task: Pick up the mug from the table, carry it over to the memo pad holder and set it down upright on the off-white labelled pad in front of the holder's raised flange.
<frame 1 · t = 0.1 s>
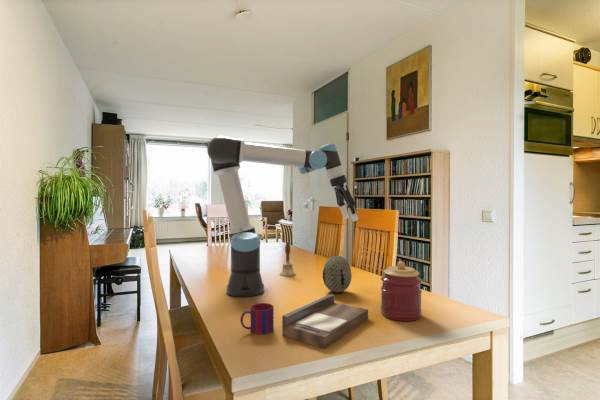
hand: (350, 219, 158), 28 cm above the table, tool tilted 20°, fingers open, 13 cm apart
mug: (256, 331, 98), on the table
canister: (400, 315, 112), on the table
hand bell: (287, 274, 168), on the table
memo pad holder: (327, 326, 101), on the table
decorative egg: (336, 292, 137), on the table
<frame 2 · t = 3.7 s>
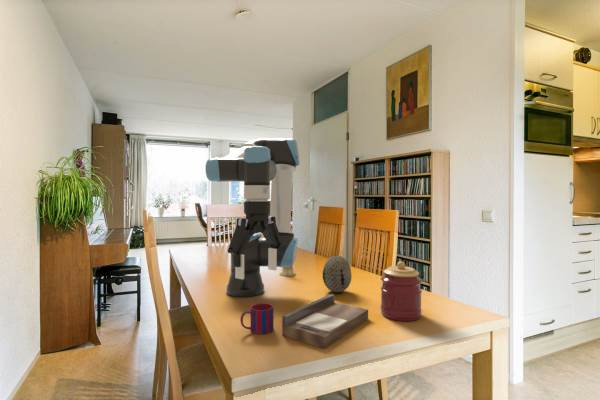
hand: (256, 274, 98), 17 cm above the table, tool pointing down, fingers open, 13 cm apart
nothing on the table moved.
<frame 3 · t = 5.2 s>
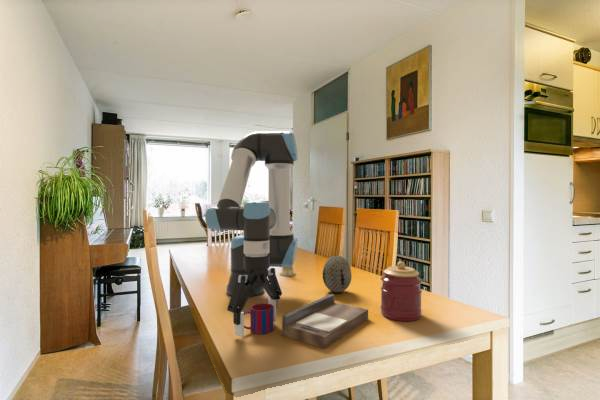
hand: (256, 327, 98), 1 cm above the table, tool pointing down, fingers open, 13 cm apart
nothing on the table moved.
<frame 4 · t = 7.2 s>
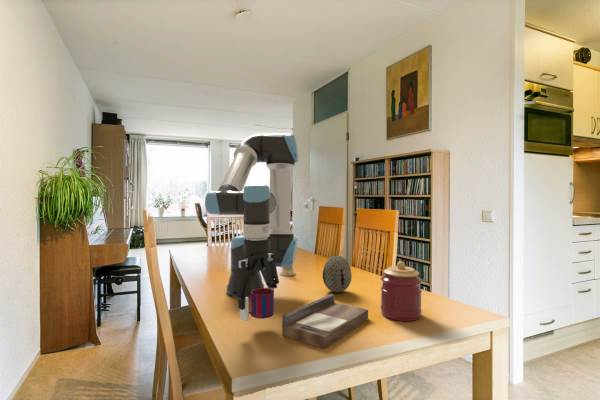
hand: (257, 314, 99), 5 cm above the table, tool pointing down, fingers closed on mug, 10 cm apart
mug: (257, 316, 99), point 4 cm above the table, touching gripper
everything else where it was.
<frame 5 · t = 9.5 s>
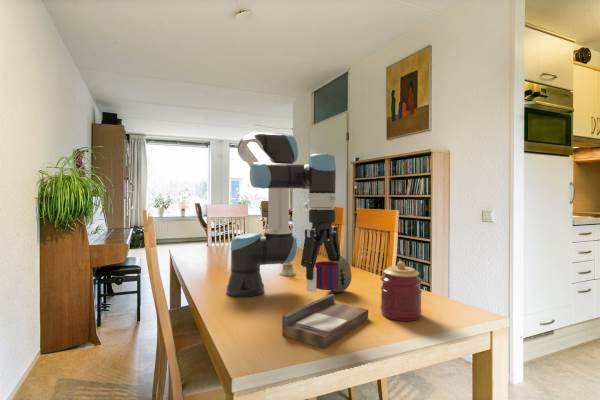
hand: (321, 286, 96), 13 cm above the table, tool pointing down, fingers closed on mug, 10 cm apart
mug: (321, 288, 97), point 13 cm above the table, touching gripper
everything else where it was.
when the fingers open (4 cm above the table, at t = 11.9 s): mug stays where it is, resting on memo pad holder.
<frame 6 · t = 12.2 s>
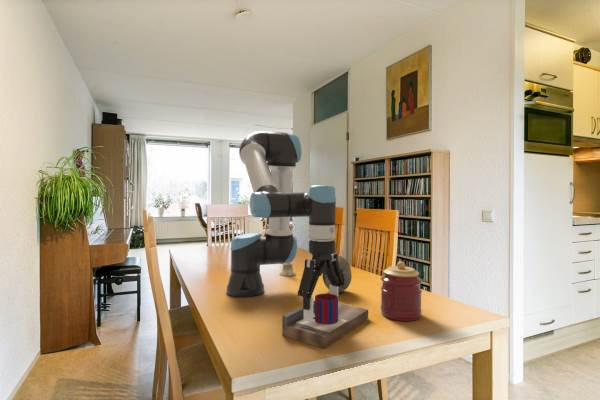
hand: (321, 313, 97), 5 cm above the table, tool pointing down, fingers open, 13 cm apart
mug: (321, 321, 97), point 3 cm above the table, touching memo pad holder
everything else where it was.
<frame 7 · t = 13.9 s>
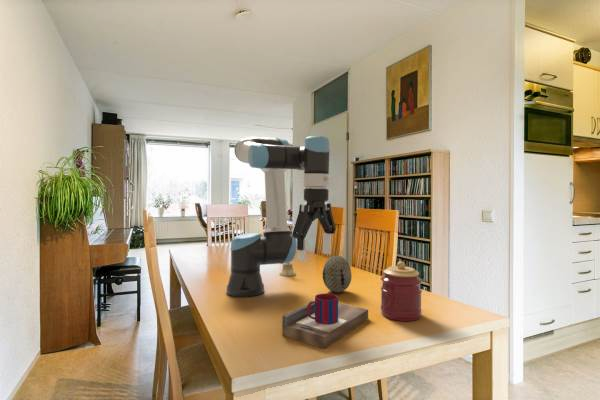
hand: (315, 257, 104), 20 cm above the table, tool pointing down, fingers open, 13 cm apart
nothing on the table moved.
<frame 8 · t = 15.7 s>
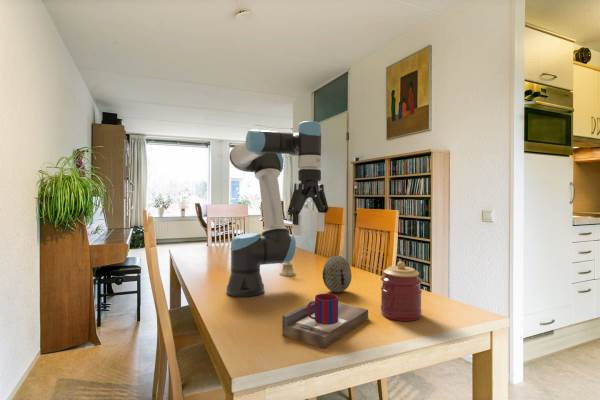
hand: (309, 233, 112), 27 cm above the table, tool pointing down, fingers open, 13 cm apart
nothing on the table moved.
at the end: mug inside the target area on the memo pad holder (0.1 cm from its centre), point 3.1 cm above the memo pad holder's base; mug tilted 0°; the gripper is holding nothing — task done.
